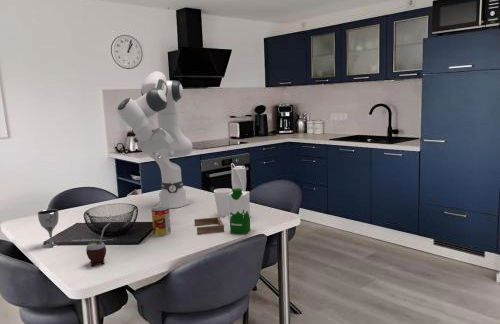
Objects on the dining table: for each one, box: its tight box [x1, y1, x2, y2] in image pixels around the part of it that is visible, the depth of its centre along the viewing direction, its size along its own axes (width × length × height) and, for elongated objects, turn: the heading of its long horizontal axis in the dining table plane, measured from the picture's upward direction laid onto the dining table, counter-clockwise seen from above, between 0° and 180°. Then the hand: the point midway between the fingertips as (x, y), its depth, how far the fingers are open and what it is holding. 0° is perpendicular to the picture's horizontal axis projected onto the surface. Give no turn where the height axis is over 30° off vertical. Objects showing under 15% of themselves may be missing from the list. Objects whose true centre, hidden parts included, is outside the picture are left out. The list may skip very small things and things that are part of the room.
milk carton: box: [228, 188, 251, 235], centre depth 191 cm, size 9×9×20 cm
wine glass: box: [37, 208, 59, 249], centre depth 182 cm, size 8×8×15 cm
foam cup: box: [213, 187, 233, 217], centre depth 219 cm, size 10×9×13 cm
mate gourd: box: [85, 222, 111, 267], centre depth 159 cm, size 8×8×15 cm
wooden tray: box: [193, 216, 225, 236], centre depth 198 cm, size 14×12×3 cm
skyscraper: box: [230, 163, 247, 191], centre depth 211 cm, size 8×8×28 cm
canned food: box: [151, 205, 172, 237], centre depth 193 cm, size 8×8×12 cm
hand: (166, 156), depth 189 cm, fingers open, 8 cm apart
